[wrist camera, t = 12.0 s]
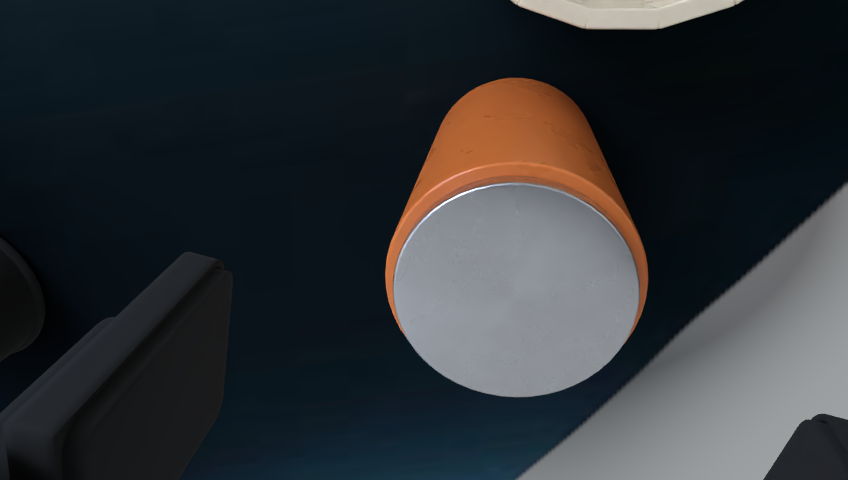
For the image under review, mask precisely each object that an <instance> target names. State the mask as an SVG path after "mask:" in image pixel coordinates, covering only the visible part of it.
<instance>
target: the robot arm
mask: <svg viewBox="0 0 848 480" xmlns="http://www.w3.org/2000/svg"><path fill="white" fill-rule="evenodd" d="M232 286H233V275H232V273H231V272H229V271H225V270H224V265H223V262H222V261H221V260H218V259H214V258H210V257H206V256H202V255H199V254H195V253H191V252H185V253H184V254H182V255H181V256H180V257H179V258H178V259H177V260H176V261H175V262H174V263H173V264H171V265H170V266H169V267H168V268H167V269H166V270H165V271H164V272H163V273H162V274H161V275H160V276H159V277H158V278H157V279H156V280H154V281H153V282H152V283H151V284H150V285H149V286H148V287H147V288H146V289H145V290H144V291H143V292H142V293H141V294H140V295H139V296H138V297H136V298H135V299H134V300H133V301H132V302H131V303H130V304H129V305H128V306H127V307H126V308H125V309H124V310H123V311H122V312H121V313H120V314H118V315H117V316H116V317H115V318H114V317H110V318H105V319H104V320H102V321H101V322H100V323H98V324H97V325H96V326H95V327H94V328H93V329H91V330H90V331H89V332H88V333H87V334H86V335H85V336H84V337H83V338H82V339H81V340H80V341H78V342H77V343H76V344H75V345H74V346H73V347H72V348H71V349H70V350H69V351H68V352H66V353H65V354H64V355H63V356H62V357H61V358H60V359H59V360H58V361H57V362H56V363H54V364H53V365H52V366H51V367H50V368H49V369H48V370H47V371H46V372H45V373H44V374H43V375H41V376H40V377H39V378H38V379H37V380H36V381H35V382H34V383H33V384H32V385H31V386H29V387H28V388H27V389H26V390H25V391H24V392H23V393H22V394H21V395H20V396H19V397H17V398H16V399H15V400H14V401H13V402H12V403H11V404H10V405H9V406H8V407H7V408H6V409H4V410H3V411H2V412H1V413H0V480H178V479H179V478H180V476H181V475H182V473H183V471H184V470H185V468H186V467H187V465H188V463H189V462H190V460H191V459H192V457H193V455H194V454H195V452H196V451H197V449H198V447H199V446H200V444H201V442H202V441H203V439H204V438H205V436H206V434H207V433H208V431H209V430H210V428H211V426H212V425H213V423H214V422H215V420H216V418H217V416H218V414H219V411H220V408H221V405H222V401H223V393H224V381H225V369H226V357H227V345H228V333H229V321H230V309H231V297H232ZM764 480H848V420H846V419H842V418H838V417H834V416H831V415H827V414H818V415H816V416H815V417H813V418H812V419H811V420H805V421H803V422H801V424H800V425H799V426H798V427H797V429H796V430H795V432H794V434H793V435H792V437H791V438H790V440H789V441H788V443H787V444H786V446H785V447H784V449H783V451H782V452H781V454H780V455H779V457H778V458H777V460H776V461H775V463H774V464H773V466H772V467H771V469H770V471H769V472H768V473H767V475H766V477H765V478H764Z"/></svg>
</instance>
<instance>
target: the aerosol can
mask: <svg viewBox="0 0 848 480" xmlns="http://www.w3.org/2000/svg"><path fill="white" fill-rule="evenodd" d="M45 313H46V312H45V300H44V296H43V293H42V290H41V286H40V284H39V282H38V280H37V278H36V276H35V274H34V272H33V271H32V269H31V268H30V266H29V265H28V263H27V262H26V261H25V259H24V258H23V257H22V256H21V255H20V254H19V253H18V252H17V251H16V250H15V249H14V248H13V247H12V246H11V245H10V244H9V243H7V242H6V241H5V240H4V239H2V238H1V237H0V362H1V361H2V360H3V359H5V358H6V357H7V356H8V355H10V354H12V353H15V352H18V351H21V350H23V349H24V348H26V347H27V346H29V345H31V344H32V343H33V341H34V340H35V339H36V338H37V337H38V335H39V334H40V331H41V329H42V327H43V325H44V319H45Z"/></svg>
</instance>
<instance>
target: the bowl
mask: <svg viewBox="0 0 848 480" xmlns="http://www.w3.org/2000/svg"><path fill="white" fill-rule="evenodd" d="M511 1H512V2H513V3H514V4H518V6H519V7H522V8H525V9H528V10H531V11H534V12H537V13H539V14H542V15H545V16H548V17H551V18H554V19H557V20H559V21H562V22H565V23H568V24H571V25H574V26H577V27H579V28H585V29H642V30H656V29H658V28H659V29H662V28H665V27H668V26H672V25H675V24H678V23H681V22H685V21H688V20H691V19H694V18H698V17H701V16H704V15H707V14H710V13H714V12H717V11H720V10H723V9H727V8H730V7H733V6H734V5H736V4H739V3H740V2H742V1H743V0H511Z"/></svg>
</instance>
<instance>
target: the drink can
mask: <svg viewBox="0 0 848 480" xmlns="http://www.w3.org/2000/svg"><path fill="white" fill-rule="evenodd" d="M385 276H386V290H387V295H388V300H389V303H390V306H391V309H392V312H393V315H394V317H395V319H396V321H397V323H398V325H399V327H400V329H401V331H402V332H403V333H404V335H405V336H406V338H407V339H408V341H409V342H410V344H411V345H412V347H413V348H414V349H415V351H416V352H417V353H418V354H419V355H420V356H421V357H422V358H423V360H424V361H426V362H427V363H428V364H429V365H430V366H431V367H432V368H434V369H435V370H436V371H438V372H439V373H441V374H442V375H443V376H445V377H446V378H448V379H450V380H452V381H454V382H456V383H458V384H460V385H462V386H465V387H467V388H469V389H472V390H475V391H479V392H482V393H486V394H491V395H497V396H506V397H531V396H538V395H545V394H549V393H553V392H557V391H561V390H563V389H566V388H569V387H571V386H574V385H576V384H578V383H580V382H582V381H583V380H585V379H587V378H589V377H590V376H592V375H593V374H595V373H596V372H598V371H599V370H600V369H601V368H602V367H604V366H605V365H606V364H607V363H608V362H609V361H610V360H611V359H612V358H613V357H614V356H615V355H616V353H617V352H618V351H619V350H620V348H621V347H622V345H623V344H624V343H625V342H626V341H627V339H628V338H629V336H630V335H631V333H632V331H633V330H634V328H635V326H636V324H637V322H638V320H639V318H640V316H641V313H642V310H643V307H644V304H645V300H646V294H647V288H648V266H647V260H646V254H645V251H644V248H643V245H642V241H641V238H640V236H639V234H638V232H637V229H636V227H635V225H634V223H633V221H632V218H631V216H630V214H629V212H628V209H627V207H626V205H625V203H624V201H623V198H622V196H621V194H620V192H619V190H618V187H617V185H616V183H615V181H614V178H613V176H612V174H611V172H610V170H609V167H608V165H607V163H606V161H605V159H604V156H603V154H602V152H601V150H600V148H599V145H598V143H597V141H596V139H595V136H594V134H593V132H592V130H591V128H590V125H589V123H588V121H587V119H586V117H585V115H584V114H583V113H582V111H581V110H580V108H579V107H578V106H577V105H576V104H575V103H574V102H573V100H572V99H570V98H569V97H568V96H567V95H566V94H564V93H563V92H561V91H560V90H558V89H557V88H555V87H553V86H551V85H548V84H546V83H544V82H540V81H537V80H533V79H526V78H506V79H499V80H495V81H492V82H488V83H486V84H483V85H481V86H479V87H477V88H475V89H473V90H472V91H470V92H469V93H467V94H466V95H465V96H463V97H462V98H461V99H460V100H459V101H458V102H457V103H456V104H455V105H454V106H453V107H452V108H451V110H450V111H449V112H448V113H447V115H446V117H445V118H444V120H443V122H442V124H441V126H440V128H439V131H438V133H437V135H436V138H435V140H434V142H433V145H432V147H431V149H430V152H429V154H428V156H427V159H426V161H425V163H424V166H423V168H422V170H421V173H420V175H419V177H418V180H417V182H416V184H415V187H414V189H413V191H412V194H411V196H410V198H409V201H408V203H407V205H406V208H405V210H404V212H403V215H402V217H401V219H400V222H399V224H398V226H397V229H396V231H395V233H394V236H393V238H392V241H391V243H390V247H389V251H388V255H387V261H386V271H385Z"/></svg>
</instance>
